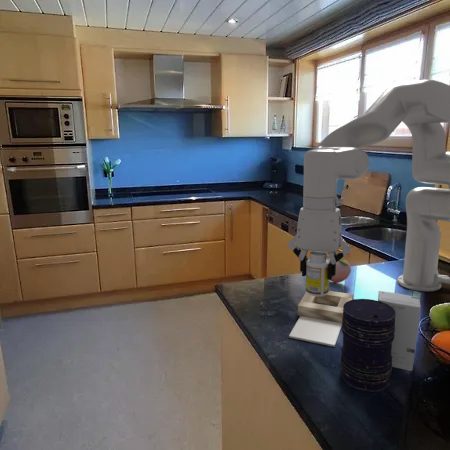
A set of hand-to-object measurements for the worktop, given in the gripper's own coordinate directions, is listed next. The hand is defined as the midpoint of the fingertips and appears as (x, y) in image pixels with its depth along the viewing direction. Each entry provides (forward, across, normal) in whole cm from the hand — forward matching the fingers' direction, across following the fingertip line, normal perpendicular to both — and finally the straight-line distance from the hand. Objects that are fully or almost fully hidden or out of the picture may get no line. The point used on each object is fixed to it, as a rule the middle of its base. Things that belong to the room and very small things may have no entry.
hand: (317, 275), depth 91 cm
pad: (+15, 0, 0) cm, 15 cm away
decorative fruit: (+15, +1, -33) cm, 36 cm away
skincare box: (+15, -18, +6) cm, 24 cm away
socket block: (+15, 0, -13) cm, 20 cm away
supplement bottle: (+5, 0, 0) cm, 5 cm away
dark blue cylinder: (+15, -13, +14) cm, 24 cm away
